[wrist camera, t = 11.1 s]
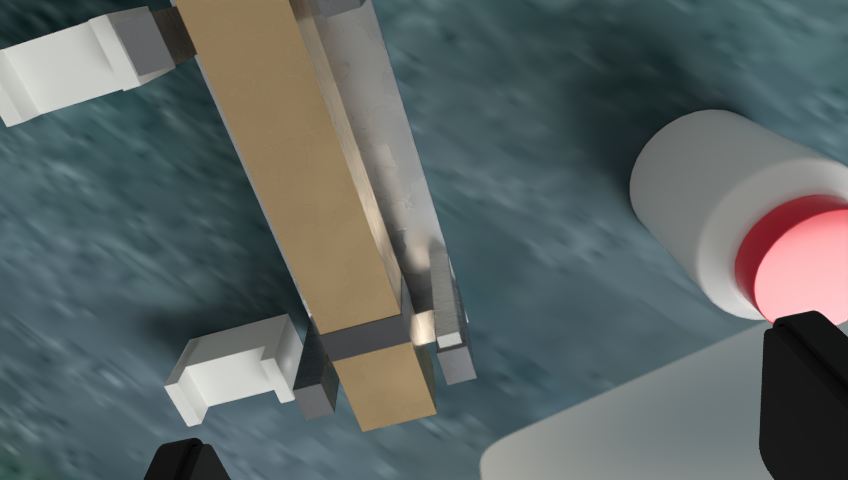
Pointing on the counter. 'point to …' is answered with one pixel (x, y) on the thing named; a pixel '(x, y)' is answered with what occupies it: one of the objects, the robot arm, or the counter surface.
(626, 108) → the counter surface
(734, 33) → the counter surface
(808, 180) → the pill bottle
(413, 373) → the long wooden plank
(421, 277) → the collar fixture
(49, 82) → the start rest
